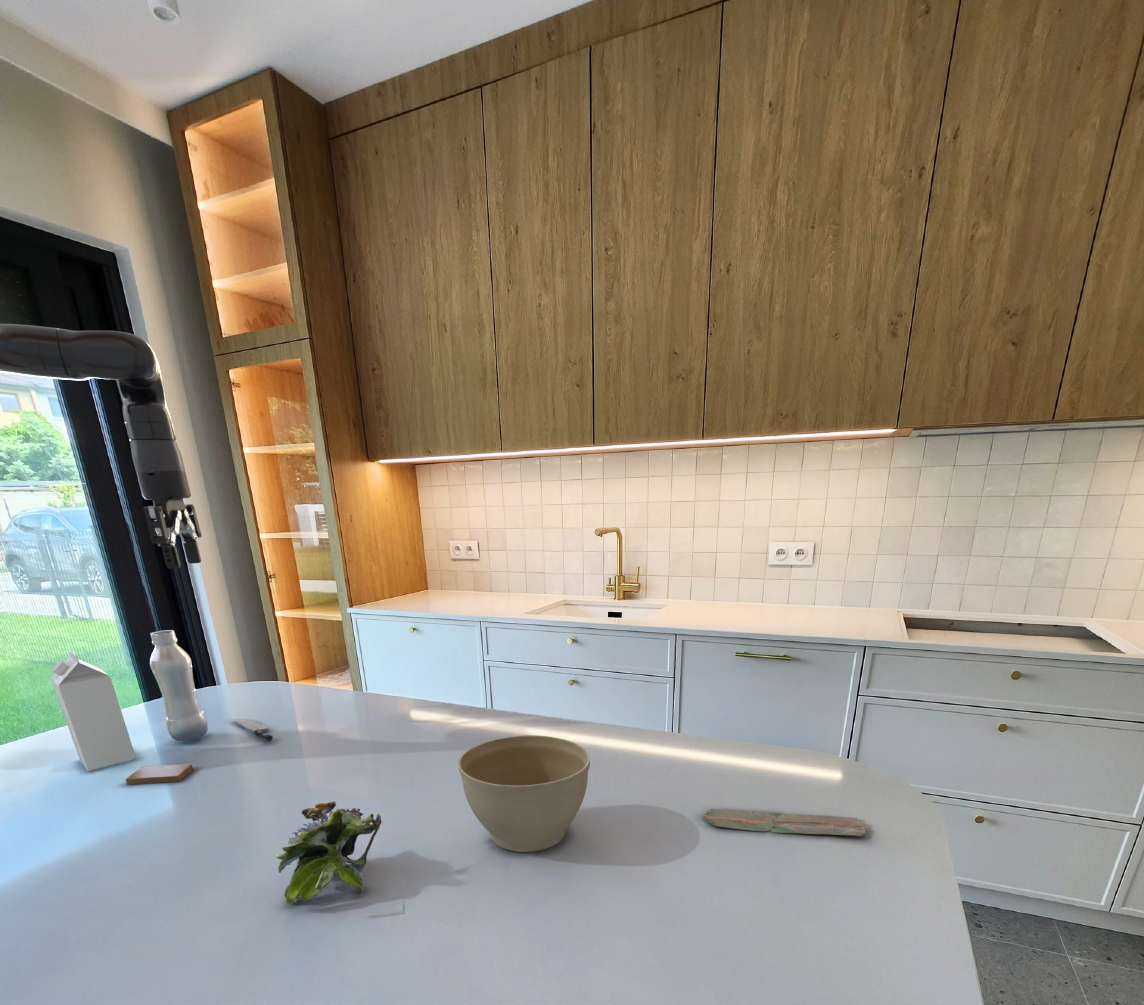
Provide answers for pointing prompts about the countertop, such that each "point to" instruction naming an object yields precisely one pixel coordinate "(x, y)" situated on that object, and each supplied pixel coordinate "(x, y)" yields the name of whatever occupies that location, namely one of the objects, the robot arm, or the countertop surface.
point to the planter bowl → (525, 788)
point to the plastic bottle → (177, 688)
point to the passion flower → (326, 850)
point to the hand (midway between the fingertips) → (184, 565)
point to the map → (786, 822)
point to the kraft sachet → (159, 774)
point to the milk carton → (92, 713)
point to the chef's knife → (255, 728)
